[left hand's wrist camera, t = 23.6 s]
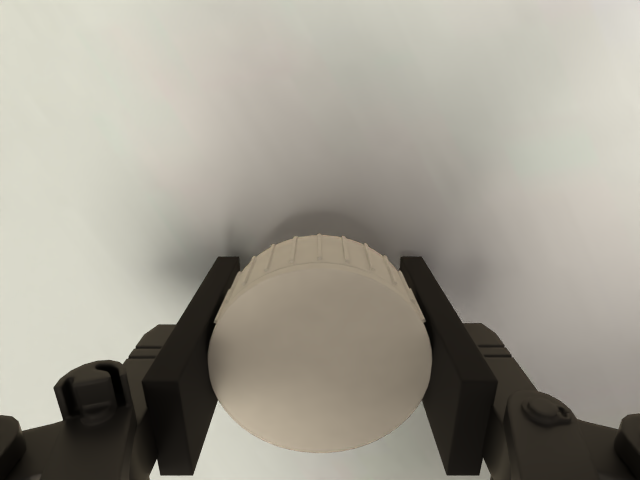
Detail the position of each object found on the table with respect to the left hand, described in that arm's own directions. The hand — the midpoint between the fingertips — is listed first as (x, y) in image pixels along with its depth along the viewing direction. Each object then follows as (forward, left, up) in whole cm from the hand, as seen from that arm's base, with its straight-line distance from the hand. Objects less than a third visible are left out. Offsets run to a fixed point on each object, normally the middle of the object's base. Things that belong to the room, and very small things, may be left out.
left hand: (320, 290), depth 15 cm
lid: (0, 0, +4) cm, 4 cm away
